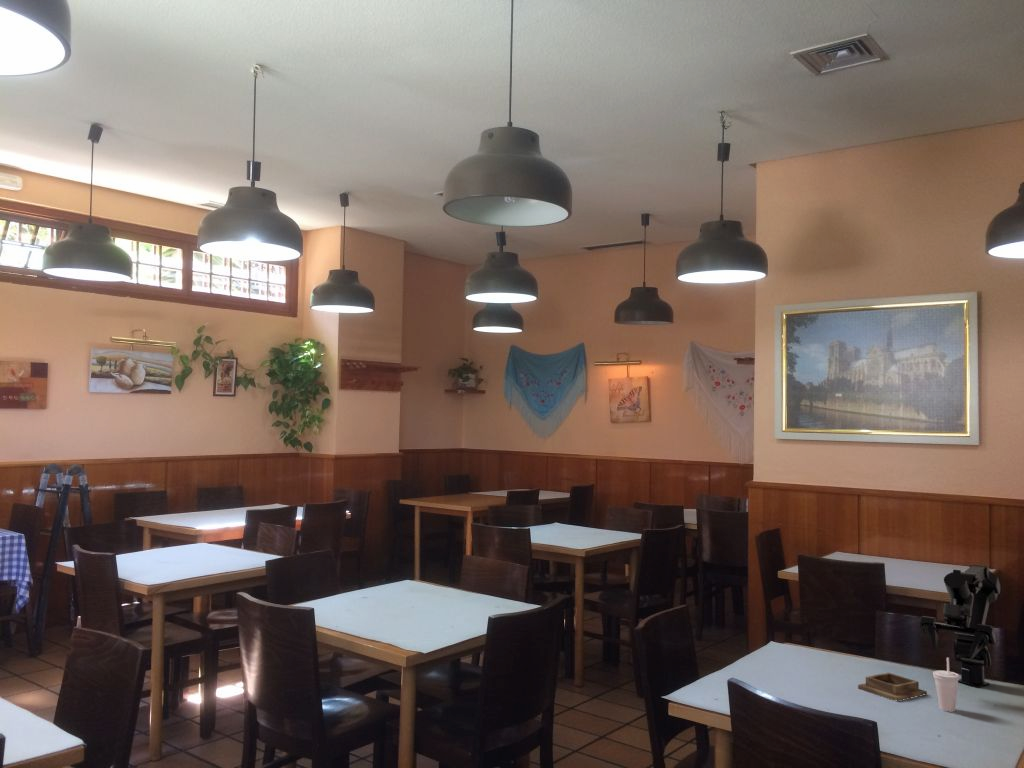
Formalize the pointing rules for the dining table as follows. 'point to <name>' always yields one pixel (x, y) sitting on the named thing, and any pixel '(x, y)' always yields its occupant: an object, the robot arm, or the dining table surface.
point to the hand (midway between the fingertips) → (952, 655)
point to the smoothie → (946, 688)
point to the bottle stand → (892, 686)
